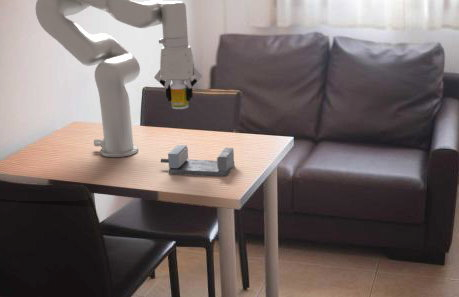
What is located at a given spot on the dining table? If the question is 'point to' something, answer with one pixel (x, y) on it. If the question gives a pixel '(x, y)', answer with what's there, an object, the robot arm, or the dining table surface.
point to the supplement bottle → (179, 94)
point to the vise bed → (208, 166)
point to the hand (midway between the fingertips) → (179, 99)
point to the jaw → (177, 156)
